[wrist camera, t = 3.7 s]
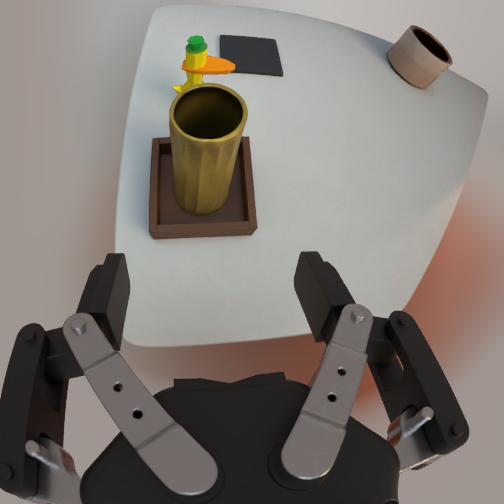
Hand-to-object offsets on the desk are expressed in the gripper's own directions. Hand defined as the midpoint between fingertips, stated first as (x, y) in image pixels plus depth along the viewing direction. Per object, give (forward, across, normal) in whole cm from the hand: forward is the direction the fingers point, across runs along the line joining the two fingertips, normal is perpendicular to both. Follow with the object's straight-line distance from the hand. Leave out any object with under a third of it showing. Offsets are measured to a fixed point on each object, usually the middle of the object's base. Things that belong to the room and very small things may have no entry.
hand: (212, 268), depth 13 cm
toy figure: (+28, +1, -3) cm, 28 cm away
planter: (+42, -40, -17) cm, 60 cm away
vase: (+20, 0, +5) cm, 20 cm away
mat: (+36, -6, -12) cm, 39 cm away
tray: (+20, 0, +5) cm, 20 cm away
